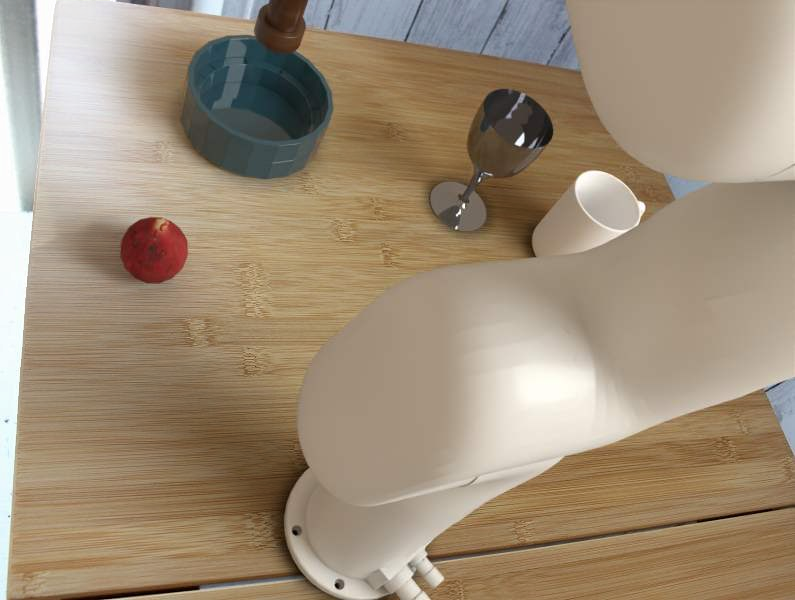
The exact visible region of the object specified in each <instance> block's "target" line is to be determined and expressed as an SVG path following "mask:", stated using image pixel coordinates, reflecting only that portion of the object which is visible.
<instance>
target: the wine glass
mask: <svg viewBox="0 0 795 600" xmlns="http://www.w3.org/2000/svg"><path fill="white" fill-rule="evenodd" d="M553 137H554V125H553V122H552V119H551V117H550V115H549V114H548V113H547V111H546V110H545V109H544V107H543V106H542V104H540V103H538V102H537V101H536V100H535V99H534V98H533V97H531V96H529V95H527V94H526V93H523V92H521V91H520V90H519V91H518V90H516V89H510V88H499V89H494V90H492V91H491V92H489V93H488V94H487V95H486V96H485V97H484V99H483V100H482V102H481V104H480V105H479V107H478V109H477V111H476V112H475V114H474V116H473V119H472V122H471V124H470V127H469V130H468V134H467V139H466V149H467V153H468V157H469V159H470V162H471V164H472V166H473V174H472V177H471V179H470V181H469V183H468V185H465V184H463V183H461V182H457V181H443V182H440V183H438V184H436V185H435V186H434V187H433V188H432V189H431V191H430V196H429V203H430V207H431V209H432V211H433V213H434V215H435V216H436V217H437V219H438V220H439V221H441V223H443V224H444V225H445V226H447V227H449V228H451V229H452V230H455V231H459V232H462V233H463V232H464V233H470V232H474V231H477V230H479V229H481V228H482V227H483V226H484V224H485V222H486V220H487V209H486V205H485V203H484V201H483V200H482V198H481V197H480V195H479V194H478V193H477V192H476V191H475V190H476V188H477V187H478V186H479V185H480V184H481V183H482V182H483V181H485V180H488V179H508V178H511V177H514V176H516V175H518V174H521V172H523V171H524V170H526V169H527V168H528V167H530V166H531V165H532V164H533V163H534V162H535V161H536V160H537V159H538V158H539V157H540V155H541V154H542V153H543V152H544V150H545V149H546V148H547V146H548V145H549V144H550V142H552V139H553Z"/></svg>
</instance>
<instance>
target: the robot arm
mask: <svg viewBox="0 0 795 600" xmlns="http://www.w3.org/2000/svg"><path fill="white" fill-rule="evenodd" d="M564 2H565V7H566V13H567V18H568V22H569V27H570V32H571V36H572V41H573V42H572V43H573V47H574V50H575V53H576V59H577V63H578V64H577V65H578V67H579V72H580V74H581V77H582V80H583V85H584V87H585V90H586V91H585V92H586V93H587V96H588V97H589V99H590V102H591V104H592V106H593V109H594V110H595V112H596V115H597V117H598V119H599V120H600V123H601V124H602V126H603V127H604V128H605V129H606V131H607V132H608V134H609V135H610V136H611V137H612V139H613V140H614V142H615V143H616V144H617V145H618V146H619V147H620V148H621V149H622V150H623V151H624V152H625V153H627V154H628V155H629V156H630V157H632V158H633V159H635V160H636V161H637V162H639V163H640V164H641V165H643V166H645V167H647V168H649V169H651V170H653V171H654V172H657V173H660V174H663V175H667V176H671V177H674V178H677V179H681V180H684V181H688V182H697V183H698V182H699V183H707V185H704V186H702V187H700V188H697V189H695V190H693V191H690V192H688V193H686V194H685V195H683V196H681V197H679V198H676V199H674V200H673V201H671V202H670V203H668V204H667V205H665V206H664V207H662V208H660V209H659V210H657V211H656V212H655V213H654V214H652V215H651V216H650V217H649V218H647V219H646V220H644V221H642V222H641V223H639V224H638V225H637V226H635V227H634V228H632V229H630V230H628V231H627V232H625V233H623V234H621V235H620V236H618V237H616V238H614V239H612V240H610V241H608V242H606V243H604V244H602V245H600V246H597V247H595V248H592V249H590V250H587V251H583V252H578V253H572V254H563V255H553V256H543V257H536V256H535V257H534V256H533V257H525V258H514V259H504V260H503V259H502V260H492V261H480V262H471V263H462V264H453V265H448V266H447V265H446V266H442V267H438V268H437V267H436V268H432V269H429V270H426V271H422V272H419V273H416V274H414V275H411V276H409V277H406V278H404V279H402V280H400V281H398V282H396V283H394V284H393V285H391V286H390V287H388V288H387V289H386V290H385V291H383V292H382V293H381V294H379V295H378V296H377V297H376V298H375V299H374V300H372V301H371V302H370V303H369V304H367V306H365V307H364V308H363V309H362V310H361V311H360V312H358V313H357V314H356V315H355V316H354V317H353V318H352V319H350V320H349V321H348V322H347V323H346V324H344V325H343V326H342V327H341V328H340V329H339V330H338V331H337V332H335V333H334V334H333V335H332V336H331V337H330V338H328V340H326V342H324V343H323V345H322V346H321V347H320V348H319V349H318V351H317V352H316V353H315V355H314V356H313V358H312V359H311V361H310V362H309V365H308V366H307V368H306V370H305V374H304V376H303V379H302V382H301V384H300V389H299V393H298V399H297V407H296V428H297V435H298V442H299V445H300V448H301V451H302V454H303V457H304V459H305V461H306V464H307V466H308V469H307V468H306V470H305V471H304V472H303V473H302V474H301V476H300V477H299V478H298V479H297V481H296V483H295V484H294V486H292V487H293V488H292V489H291V490H290V492H289V495H288V497H287V498H288V499H287V501H286V503H285V504H286V505H285V510H284V515H283V527H284V530H283V531H284V536H285V541H286V544H287V548H288V551H289V554H290V555H291V558H292V560H293V561H294V563H295V565H296V566H297V568H298V570H299V571H300V573H302V575H303V576H304V577H305V578H306V579H307V580H308V581H309V582H310V583H311V584H312V585H314V586H315V587H317V588H318V589H319V590H321V591H322V592H323V593H326V594H328V595H331V596H332V597H335V598H337V599H341V600H378V599H381V598H383V597H386V596H388V595H393V594H394V593H395V594H396V595H397V597H398V598H399V599H400V600H432V599H431V598H430V597H429V596H428V594H427V593H426V591H424V590H423V589H421V588H420V586H419V585H418V584H417V583H416V581H415V580H414V579H413V578H412V577H413V576H414V574H415V573H416V571H417V572H418V573H419V574H420V575H421V577H422V579H423V580H424V581H425V583H426V584H427V585H428V586H429V588H430V589H431V590H434V589H435V588H436V587H438V586H439V585H440V584H441V583H442V582H444V580H445V577H444V576H443V574H442V573H441V572H440V571H439V569H438V568H437V567H436V565H435V566H434V564H433V563H432V562H431V561H430V559H428V557H427V556H428V552H427V551H426V547H428V546H429V544H430V543H432V541H434V539H435V538H437V537H438V536H439V535H441V534H442V533H443V532H445V531H446V530H448V529H449V528H450V527H452V526H453V525H455V524H456V523H458V522H460V521H462V520H463V519H464V518H465V517H467V516H468V515H470V514H472V512H475V510H477V509H478V508H480V507H481V506H483V505H484V504H486V503H488V502H489V501H491V500H492V499H494V498H496V497H498V496H500V495H502V494H504V493H506V492H508V491H510V490H512V489H514V488H516V487H518V486H520V485H522V484H524V483H526V482H528V481H530V480H531V479H534V478H535V477H538V476H539V475H541V474H543V473H544V472H546V471H548V470H550V469H551V468H552V467H554V466H555V465H557V463H559V462H560V461H561V460H563V458H565V457H568V456H573V455H576V454H580V453H584V452H587V451H591V450H592V451H593V450H596V449H598V448H602V447H605V446H608V445H611V444H614V443H617V442H619V441H622V440H624V439H627V438H629V437H631V436H633V435H635V434H638V433H640V432H642V431H645V430H647V429H649V428H652V427H655V426H657V425H659V424H662V423H666V422H668V421H671V420H673V419H677V418H679V417H681V416H685V415H688V414H691V413H694V412H697V411H701V410H704V409H707V408H710V407H713V406H716V405H720V404H723V403H726V402H730V401H733V400H735V399H739V398H742V397H744V396H747V395H749V394H751V393H754V392H757V391H760V390H761V389H765V388H767V387H771V386H774V385H777V384H779V383H782V382H785V381H788V380H792V379H794V378H795V0H564ZM708 183H709V184H708ZM293 532H295V533H296V535H295V534H294V533H293ZM335 585H337V586H338V588H337V587H336V586H335Z"/></svg>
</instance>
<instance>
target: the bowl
mask: <svg viewBox="0 0 795 600" xmlns="http://www.w3.org/2000/svg"><path fill="white" fill-rule="evenodd" d="M179 107H180V109H179V112H180V113H179V120H180V123H181V125H182V128H183V130H184V133H185V135H186V138H187V139H188V140H189V142H190V143H191V144H192V145H193V147H194V148H195V149H196V150H197V151H198V152H199V154H200V155H202V157H204V158H206V159H207V160H209V161H210V162H211V163H213V164H215V165H216V166H217V167H219V168H221V169H223V170H225V171H228V172H230V173H234V174H235V175H239V176H241V177H245V178H246V177H247V178H253V179H260V180H271V179H280V178H286V177H289V176H291V175H293V174H295V173H297V172H300V171H302V170H304V169H305V168H306V167H307V165H309V164H310V163H311V162H312V160H314V158H315V157H316V155H317V153H318V150H319V148H320V146H321V144H322V141H323V138H324V136H325V134H326V132H327V130H328V127H329V125H330V123H331V119H332V116H333V113H334V99H333V92H332V90H331V87H330V85H329V84H328V82H327V80H326V78H325V76H324V74H323V73H322V72H321V71H320V70H319V69H318V68H317V66H315V64H314V63H313V62H312V61H311V60H310V59H308V58H307V57H306V56H304V55H303V54H301V53H300V52H298V51H297V50H296V51H294V52H292V53H288V54H281V53H276V52H273V51H270V50H268V49H267V48H265V47H264V46H262V45H261V44H260V43H259V42H258V40H257V39H256V37H255V35H251V34H234V35H233V34H232V35H231V34H230V35H225V36H222V37H219V38H215V39H212V40H210V41H207V42H206V43H205V44H204V45H203V46H202V47H200V48H198V50H196V51H195V52H194V54H193V56H192V58H191V60H190V62H189V64H188V66H187V71H186V75H185V79H184V84H183V89H182V93H181V99H180V103H179Z"/></svg>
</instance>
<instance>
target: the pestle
mask: <svg viewBox="0 0 795 600" xmlns="http://www.w3.org/2000/svg"><path fill="white" fill-rule="evenodd" d="M308 3H309V0H268V3H266V4H264V5H262V6H261V7H260V8H259V10H258V13H257V17H256V21H255V23H254V28H253V34H254V36H255V37H256V39H257V40H258V42H259V43H260V44H261V45H262V46H264V47H265V48H267V49H268V50H270V51H273V52H276V53H281V54H288V53H292V52H294V51H297V50H298V49H299V48H300V47H301V45H302V41H303V38H304V35H305V32H306V30H307V23H306V21H305V18H304V15H305V11H306V9H307V6H308Z"/></svg>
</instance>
